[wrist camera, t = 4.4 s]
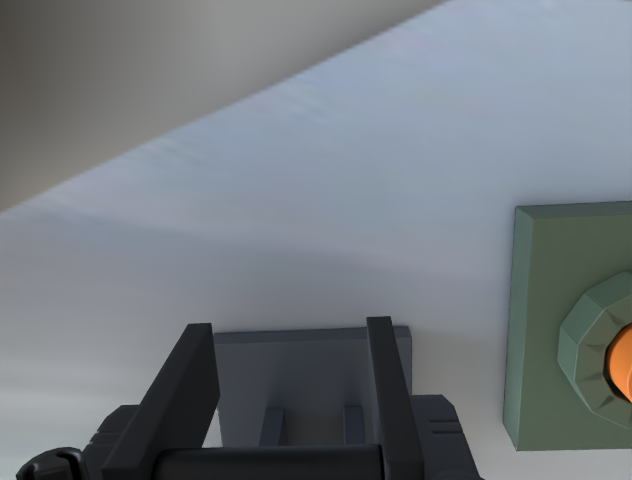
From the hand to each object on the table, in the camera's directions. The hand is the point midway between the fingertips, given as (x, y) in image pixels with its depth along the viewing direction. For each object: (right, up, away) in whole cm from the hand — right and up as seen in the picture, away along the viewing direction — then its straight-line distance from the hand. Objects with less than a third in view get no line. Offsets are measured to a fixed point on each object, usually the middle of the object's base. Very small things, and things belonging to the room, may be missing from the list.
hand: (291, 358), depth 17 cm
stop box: (+16, 0, +9) cm, 18 cm away
